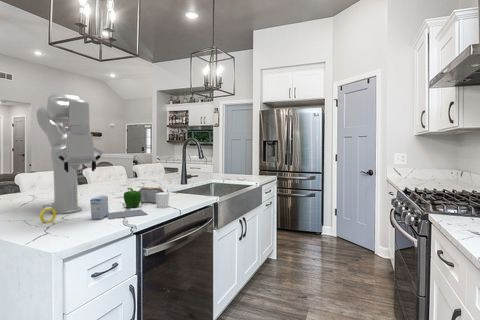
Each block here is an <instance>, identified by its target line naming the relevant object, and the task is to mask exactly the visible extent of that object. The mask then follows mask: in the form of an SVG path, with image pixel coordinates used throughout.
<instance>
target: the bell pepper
mask: <svg viewBox="0 0 480 320" xmlns="http://www.w3.org/2000/svg"><path fill="white" fill-rule="evenodd" d="M123 201H124V204H125V206H126V208H129V209H130V208H137V207H139V206H140V204H141V202H140V201H141V192H140V191H139V190H138V191H137V190H134V189H133V187H128V188H127V191H125V192H124V193H123Z"/></svg>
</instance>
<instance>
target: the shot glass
mask: <svg viewBox="0 0 480 320" xmlns="http://www.w3.org/2000/svg"><path fill="white" fill-rule="evenodd" d="M169 199H170V193H169V192H161V193H156V203H155V204H156V207H157V208H159V209H164V208H168V207H169Z"/></svg>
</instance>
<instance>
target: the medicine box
mask: <svg viewBox="0 0 480 320" xmlns="http://www.w3.org/2000/svg"><path fill="white" fill-rule="evenodd" d="M89 202H90V203H89V204H90V215H91V220H101V219H103V218H105V217H107V216H106V215H108V214H109V213H110V212H109V198H108V195H97V196H95V197H93V198H91V199H90V201H89Z"/></svg>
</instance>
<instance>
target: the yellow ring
mask: <svg viewBox="0 0 480 320" xmlns="http://www.w3.org/2000/svg"><path fill="white" fill-rule="evenodd" d="M51 210H52V212H53V213H52V217H51V219H49V220H45V219H44V214H45V212H47V211H51ZM56 217H57V214H56V211H55V210H54V209H52V207H46V208H44V209H43V210H41V212H40V214H39V219H40V221H41V222H42V223H43V224H47V223H51V222H53V221H54V220H55V219H56Z"/></svg>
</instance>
